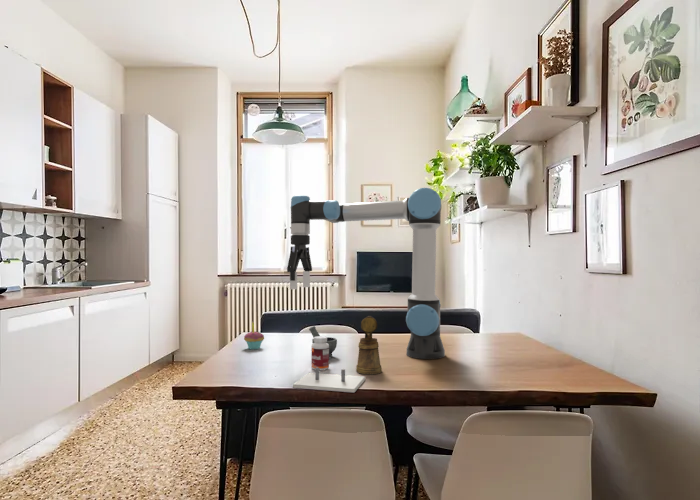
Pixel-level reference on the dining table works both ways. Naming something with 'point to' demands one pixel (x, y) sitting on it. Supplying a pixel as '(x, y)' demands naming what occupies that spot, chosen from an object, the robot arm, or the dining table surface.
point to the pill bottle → (320, 353)
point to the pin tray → (330, 382)
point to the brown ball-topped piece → (368, 349)
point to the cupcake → (254, 339)
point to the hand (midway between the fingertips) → (300, 288)
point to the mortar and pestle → (330, 341)
